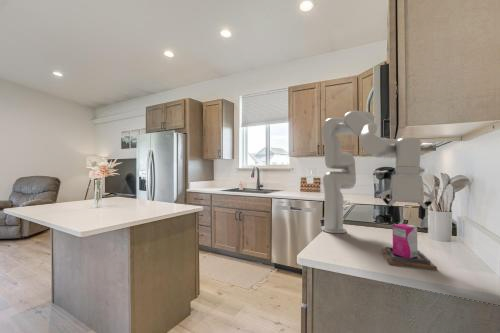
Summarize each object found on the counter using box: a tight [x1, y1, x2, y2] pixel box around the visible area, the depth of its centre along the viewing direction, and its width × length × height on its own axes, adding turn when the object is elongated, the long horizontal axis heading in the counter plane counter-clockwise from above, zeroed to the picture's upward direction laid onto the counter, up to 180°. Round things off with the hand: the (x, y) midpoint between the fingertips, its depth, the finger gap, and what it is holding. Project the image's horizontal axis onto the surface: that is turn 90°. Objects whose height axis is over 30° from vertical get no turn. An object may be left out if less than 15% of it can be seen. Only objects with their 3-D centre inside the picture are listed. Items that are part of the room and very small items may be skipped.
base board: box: [380, 246, 438, 272], centre depth 88 cm, size 14×14×2 cm
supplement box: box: [392, 223, 419, 259], centre depth 89 cm, size 6×6×12 cm
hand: (405, 217), depth 89 cm, fingers open, 9 cm apart
